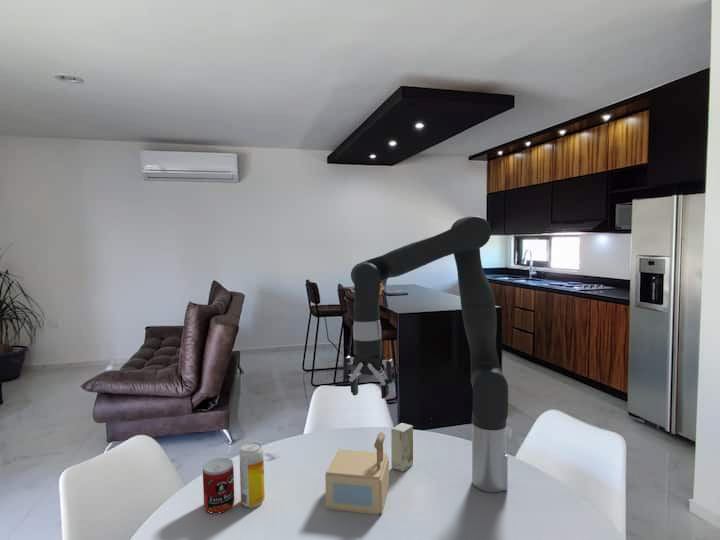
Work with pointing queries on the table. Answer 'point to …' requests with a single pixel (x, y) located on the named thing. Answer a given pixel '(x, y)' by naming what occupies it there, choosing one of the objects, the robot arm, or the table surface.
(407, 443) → the skincare box
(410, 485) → the table surface
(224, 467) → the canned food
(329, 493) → the wooden box
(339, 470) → the flap
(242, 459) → the beer can
